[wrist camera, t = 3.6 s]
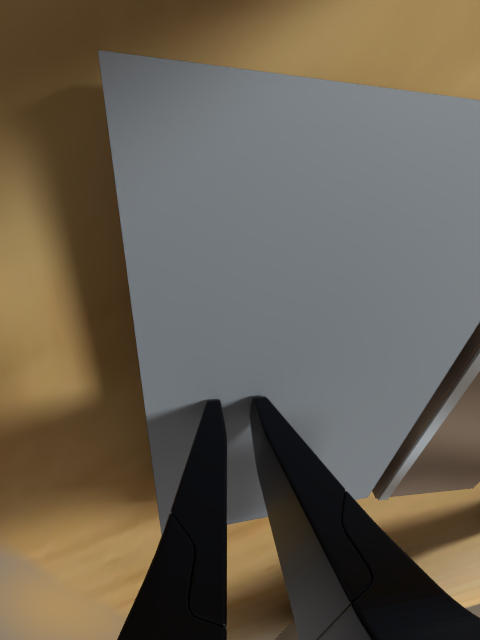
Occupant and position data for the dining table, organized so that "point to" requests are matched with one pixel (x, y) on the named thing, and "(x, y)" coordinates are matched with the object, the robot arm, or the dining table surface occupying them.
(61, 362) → the dining table surface
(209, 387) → the grey tile
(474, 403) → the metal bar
